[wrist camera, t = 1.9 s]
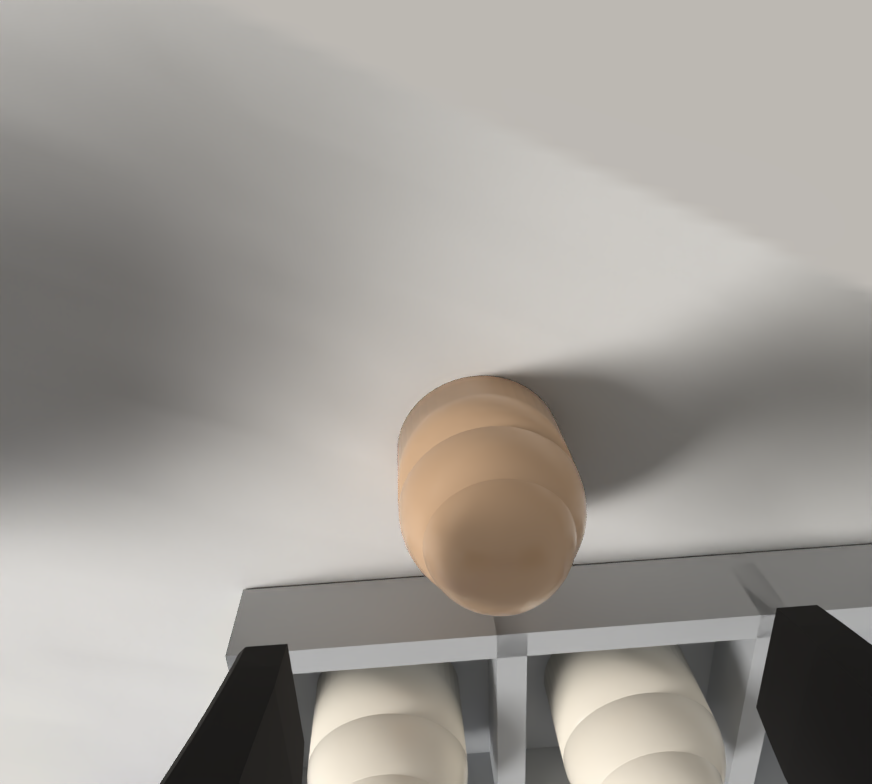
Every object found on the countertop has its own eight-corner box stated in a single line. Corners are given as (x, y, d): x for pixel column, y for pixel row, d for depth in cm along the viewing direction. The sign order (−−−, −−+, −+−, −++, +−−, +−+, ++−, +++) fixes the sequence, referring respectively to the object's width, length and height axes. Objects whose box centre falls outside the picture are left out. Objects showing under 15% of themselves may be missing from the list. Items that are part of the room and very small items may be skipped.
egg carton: (871, 850, 24) (914, 920, 22) (304, 900, 24) (297, 978, 22) (977, 536, 19) (1047, 593, 17) (243, 589, 18) (225, 655, 16)
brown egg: (556, 511, 18) (610, 659, 14) (402, 522, 18) (406, 675, 13) (562, 370, 16) (625, 487, 12) (391, 381, 16) (393, 503, 12)
